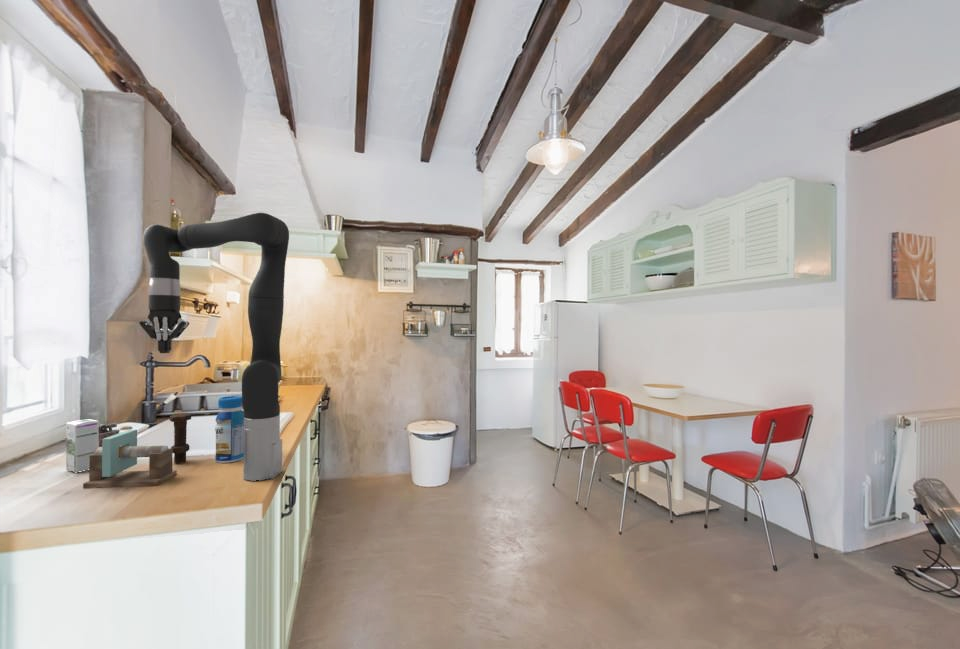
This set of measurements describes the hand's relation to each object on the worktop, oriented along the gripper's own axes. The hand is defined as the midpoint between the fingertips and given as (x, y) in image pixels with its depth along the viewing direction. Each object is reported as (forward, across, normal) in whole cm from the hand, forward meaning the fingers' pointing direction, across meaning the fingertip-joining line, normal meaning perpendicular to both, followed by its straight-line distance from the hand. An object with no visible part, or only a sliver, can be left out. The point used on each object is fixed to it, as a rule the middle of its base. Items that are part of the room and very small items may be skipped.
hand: (164, 353), depth 124 cm
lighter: (+35, +30, -19) cm, 50 cm away
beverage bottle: (+35, -14, -10) cm, 39 cm away
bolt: (+35, 0, -8) cm, 36 cm away
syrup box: (+35, +25, -4) cm, 43 cm away
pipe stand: (+35, +4, +7) cm, 36 cm away
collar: (+32, +7, +7) cm, 33 cm away
